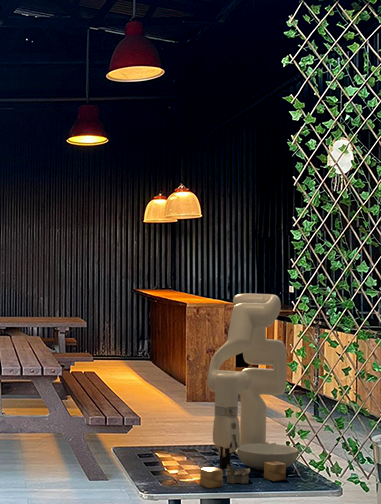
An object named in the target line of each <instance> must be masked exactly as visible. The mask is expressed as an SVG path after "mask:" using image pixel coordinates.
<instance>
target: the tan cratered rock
mask: <svg viewBox="0 0 381 504" xmlns="http://www.w3.org/2000/svg"><path fill="white" fill-rule="evenodd" d="M250 472H251V467H249V468H245V467H243V468H241V467H238V469H235V467H234V466H232V465H230V466H229V464H228V465H227V469H225V475H226V483H228V484H249V475H250V474H251V473H250Z"/></svg>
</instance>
